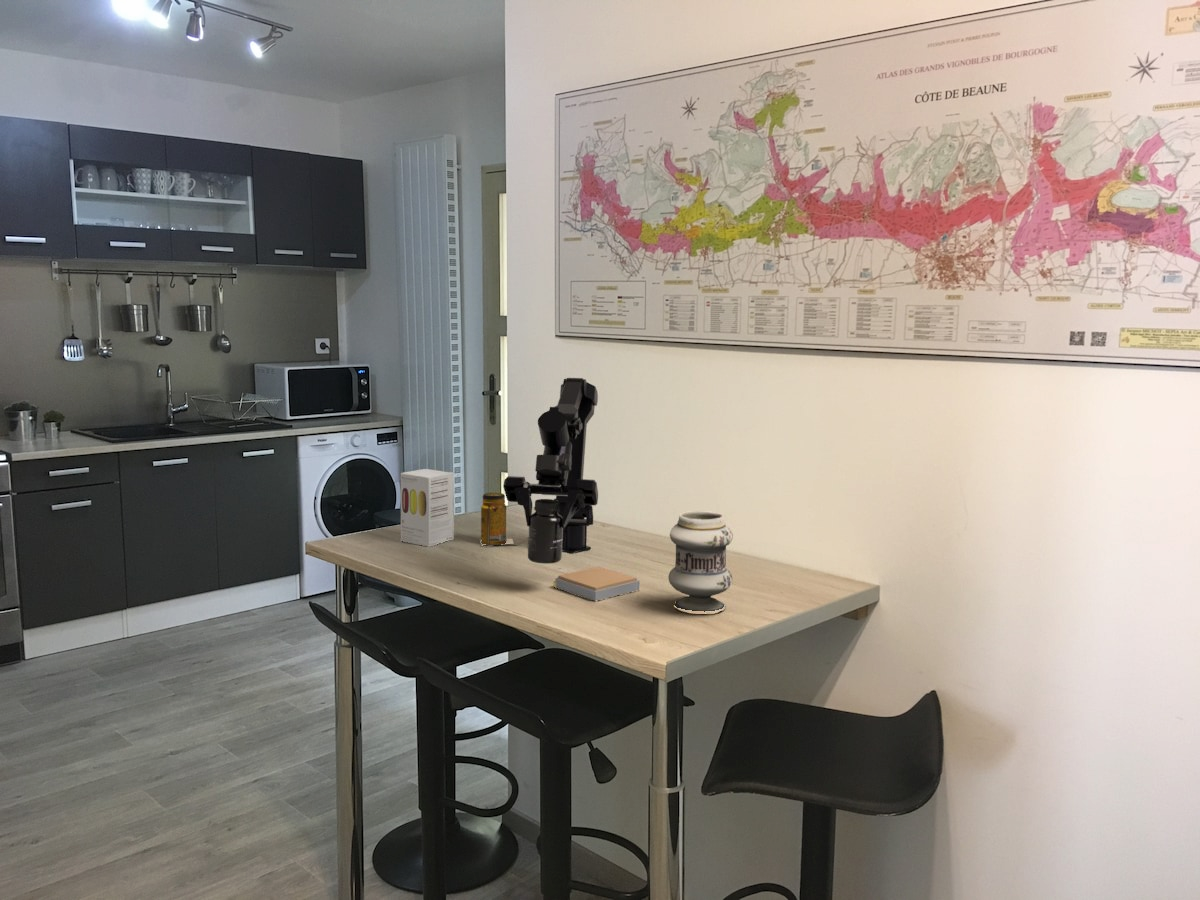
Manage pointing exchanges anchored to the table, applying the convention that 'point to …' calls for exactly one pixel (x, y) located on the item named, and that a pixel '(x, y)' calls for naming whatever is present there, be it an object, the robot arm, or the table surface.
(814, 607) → the table surface
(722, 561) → the apothecary jar
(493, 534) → the condiment
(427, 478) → the supplement box
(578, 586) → the note pad
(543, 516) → the supplement bottle
